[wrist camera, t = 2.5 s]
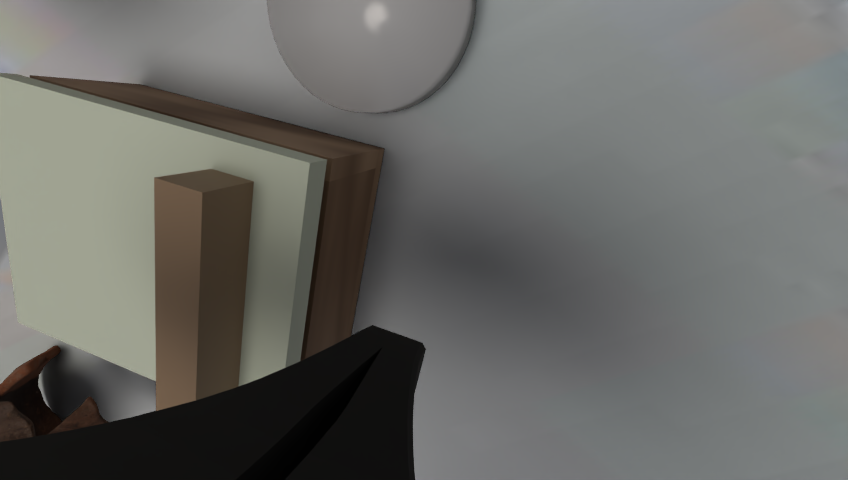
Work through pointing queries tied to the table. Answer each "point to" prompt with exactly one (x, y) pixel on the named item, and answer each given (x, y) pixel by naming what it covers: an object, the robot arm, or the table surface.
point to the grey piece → (372, 48)
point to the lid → (156, 238)
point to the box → (340, 208)
